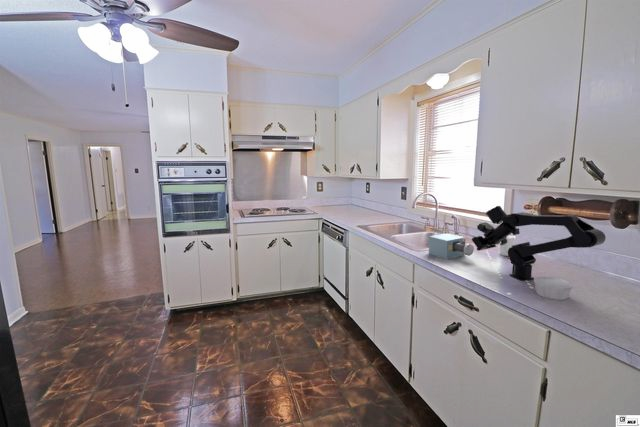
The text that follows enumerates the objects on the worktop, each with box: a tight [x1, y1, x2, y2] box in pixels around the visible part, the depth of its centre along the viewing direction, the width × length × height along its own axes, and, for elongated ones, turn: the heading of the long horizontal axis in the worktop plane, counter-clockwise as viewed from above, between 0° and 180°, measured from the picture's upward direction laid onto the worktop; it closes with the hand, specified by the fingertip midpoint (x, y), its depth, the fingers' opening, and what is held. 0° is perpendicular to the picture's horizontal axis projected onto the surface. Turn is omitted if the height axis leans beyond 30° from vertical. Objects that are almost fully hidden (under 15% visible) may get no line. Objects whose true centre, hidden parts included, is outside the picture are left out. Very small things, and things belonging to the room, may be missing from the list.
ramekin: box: [533, 276, 573, 301], centre depth 108 cm, size 11×11×5 cm
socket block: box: [428, 232, 467, 260], centre depth 160 cm, size 12×14×10 cm
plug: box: [453, 242, 475, 257], centre depth 154 cm, size 14×6×6 cm, turn 26°
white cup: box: [497, 234, 517, 257], centre depth 158 cm, size 8×8×10 cm
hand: (477, 249), depth 144 cm, fingers closed
